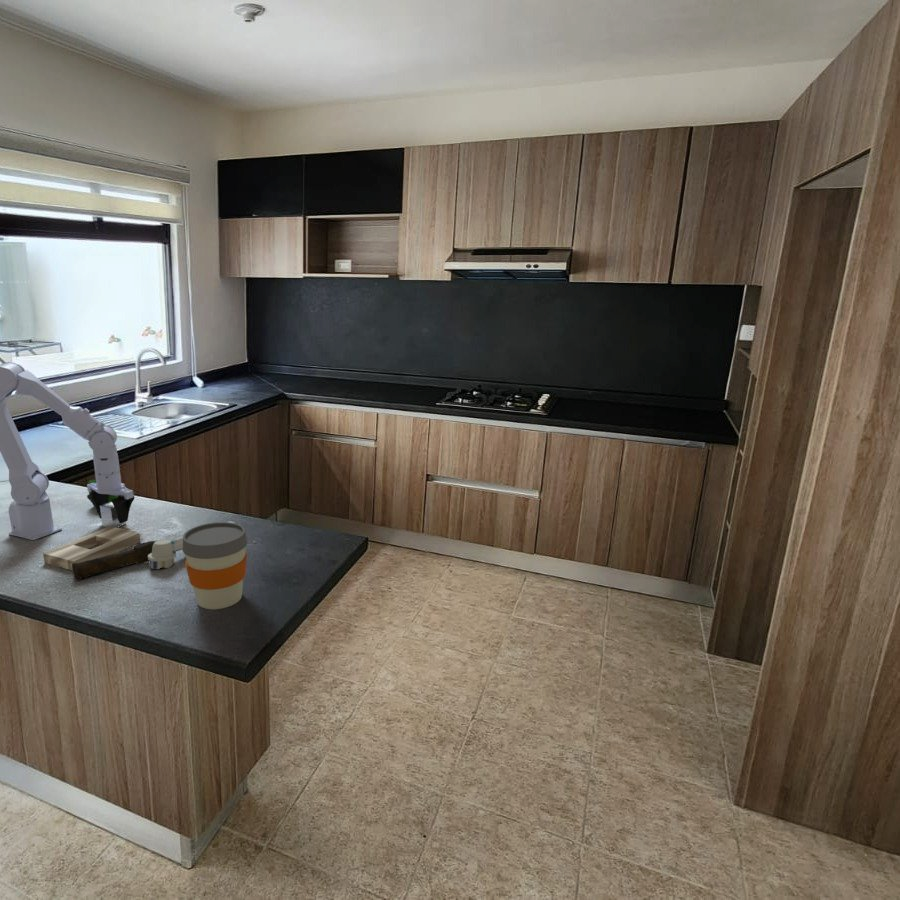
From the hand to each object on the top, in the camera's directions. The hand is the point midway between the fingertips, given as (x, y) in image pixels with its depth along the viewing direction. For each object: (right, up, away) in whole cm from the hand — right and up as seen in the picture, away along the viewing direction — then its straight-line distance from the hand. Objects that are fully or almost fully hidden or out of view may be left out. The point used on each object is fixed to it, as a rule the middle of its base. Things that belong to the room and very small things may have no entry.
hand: (113, 519), depth 162 cm
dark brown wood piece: (+14, -9, -22) cm, 28 cm away
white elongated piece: (+28, -7, -13) cm, 31 cm away
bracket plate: (+4, -6, -16) cm, 17 cm away
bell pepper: (-10, +2, +15) cm, 18 cm away
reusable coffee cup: (+42, -13, -35) cm, 56 cm away
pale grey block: (0, -2, 0) cm, 2 cm away
